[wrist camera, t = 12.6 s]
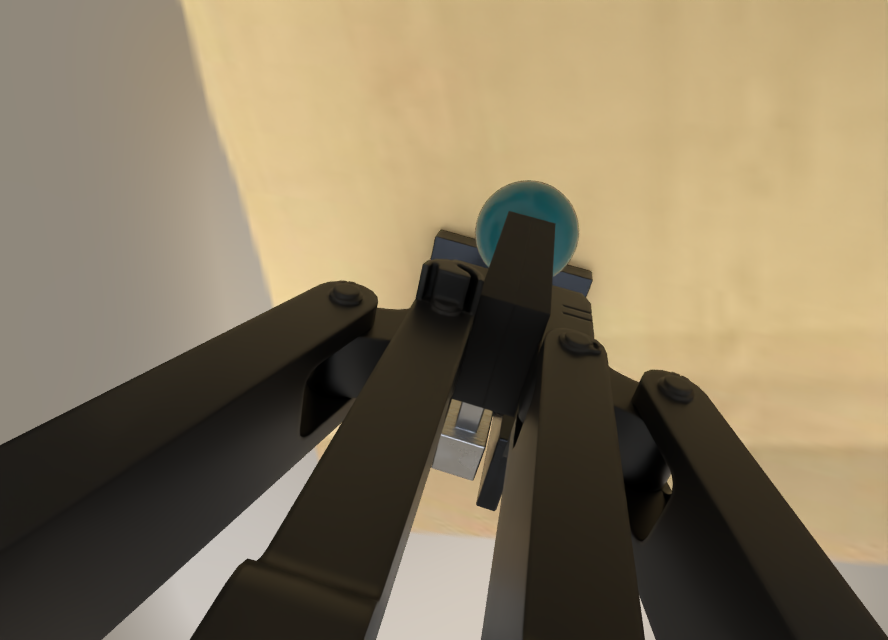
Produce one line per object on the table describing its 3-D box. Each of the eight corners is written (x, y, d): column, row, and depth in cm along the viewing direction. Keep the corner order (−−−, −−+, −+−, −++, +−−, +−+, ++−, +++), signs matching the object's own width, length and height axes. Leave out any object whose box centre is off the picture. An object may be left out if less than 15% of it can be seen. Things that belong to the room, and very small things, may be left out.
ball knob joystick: (496, 153, 19) (478, 195, 16) (595, 178, 19) (592, 226, 16) (432, 419, 29) (413, 474, 26) (496, 439, 29) (484, 496, 26)
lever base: (440, 228, 35) (373, 324, 23) (591, 271, 34) (606, 393, 22) (407, 378, 40) (339, 518, 28) (536, 416, 40) (523, 577, 27)
